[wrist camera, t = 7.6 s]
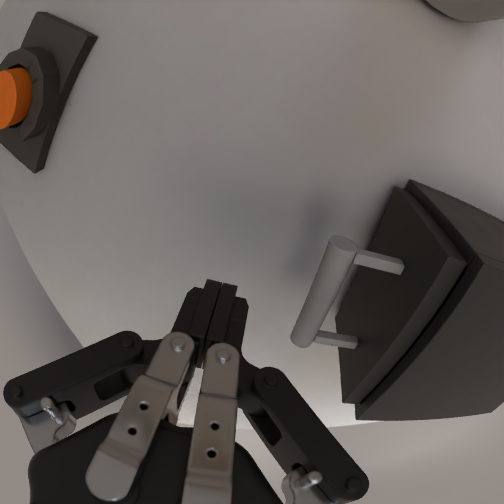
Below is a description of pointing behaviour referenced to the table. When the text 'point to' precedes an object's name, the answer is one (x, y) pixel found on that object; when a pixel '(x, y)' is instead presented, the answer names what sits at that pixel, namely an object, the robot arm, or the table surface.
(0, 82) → the button
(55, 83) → the control block
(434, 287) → the small dark drawer
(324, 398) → the table surface
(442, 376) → the black drawer cabinet
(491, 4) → the can
